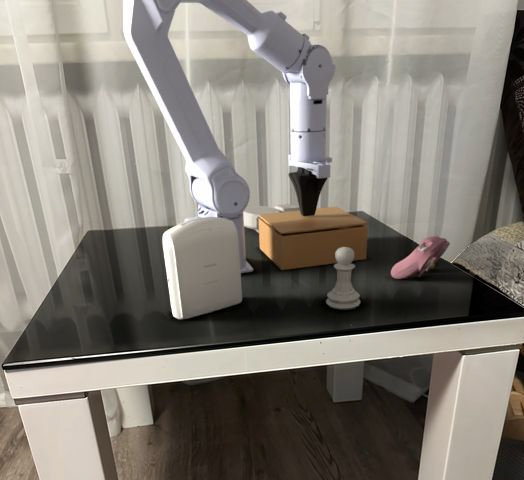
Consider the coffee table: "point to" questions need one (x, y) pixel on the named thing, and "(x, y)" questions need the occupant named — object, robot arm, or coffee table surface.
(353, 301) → the chess piece
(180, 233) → the photo printer
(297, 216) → the flap
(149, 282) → the coffee table surface
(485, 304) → the coffee table surface
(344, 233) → the carton
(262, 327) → the coffee table surface
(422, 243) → the pink shoe
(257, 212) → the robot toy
